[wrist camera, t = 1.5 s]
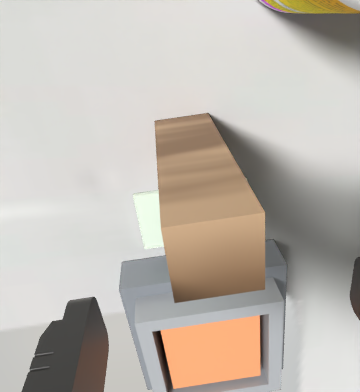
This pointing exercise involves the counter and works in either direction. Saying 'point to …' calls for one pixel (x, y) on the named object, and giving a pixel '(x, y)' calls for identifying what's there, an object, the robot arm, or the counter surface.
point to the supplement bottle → (313, 6)
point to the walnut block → (206, 213)
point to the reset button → (213, 351)
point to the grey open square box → (203, 320)
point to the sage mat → (149, 218)
